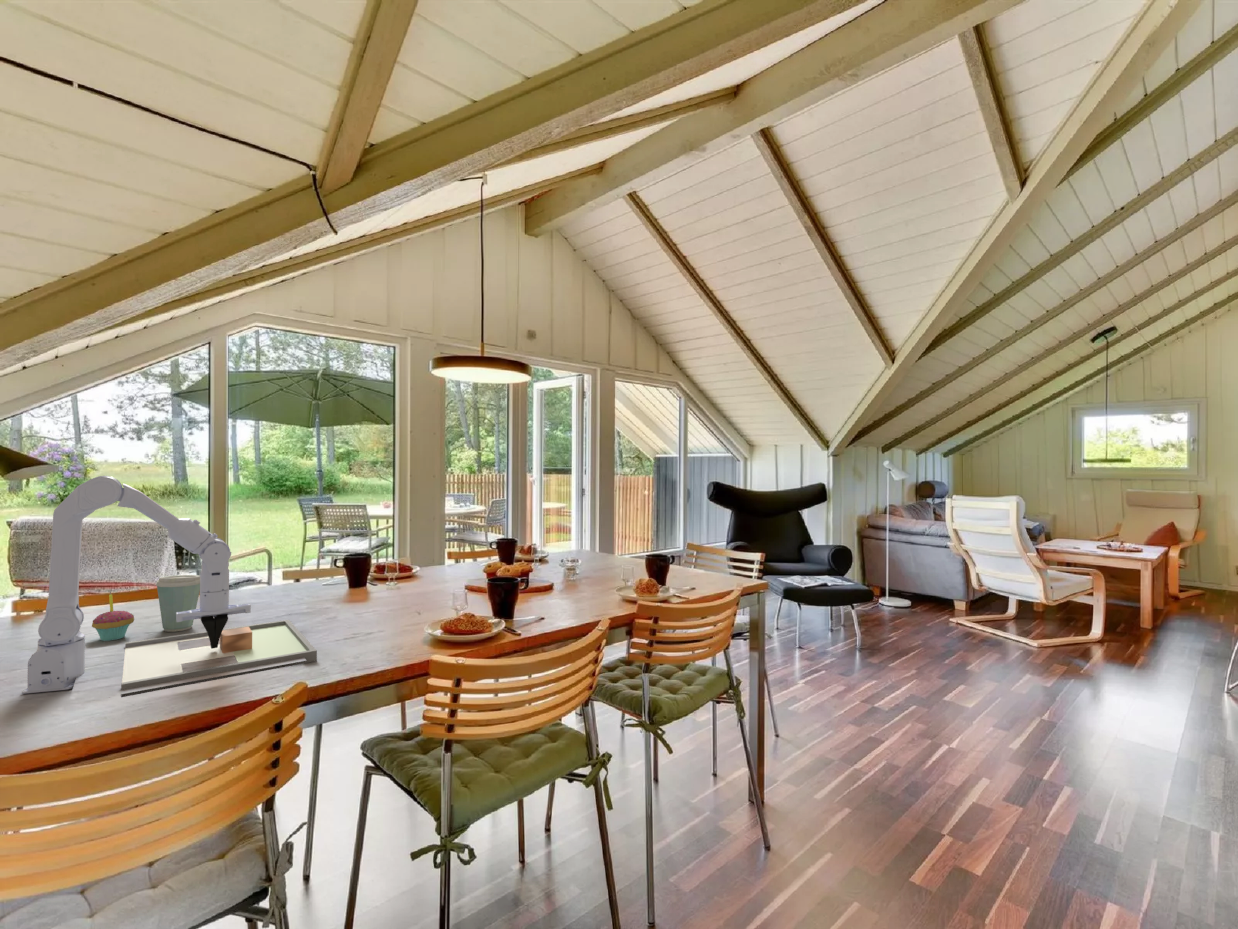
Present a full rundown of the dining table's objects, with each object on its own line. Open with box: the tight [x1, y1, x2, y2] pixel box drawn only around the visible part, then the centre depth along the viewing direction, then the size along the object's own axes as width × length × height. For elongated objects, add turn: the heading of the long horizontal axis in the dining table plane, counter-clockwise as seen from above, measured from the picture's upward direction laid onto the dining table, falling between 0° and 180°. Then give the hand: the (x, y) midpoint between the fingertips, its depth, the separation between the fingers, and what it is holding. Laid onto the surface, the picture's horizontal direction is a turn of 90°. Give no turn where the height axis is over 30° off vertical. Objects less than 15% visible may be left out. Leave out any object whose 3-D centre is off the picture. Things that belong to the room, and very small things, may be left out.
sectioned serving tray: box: [120, 619, 318, 698], centre depth 141 cm, size 35×34×2 cm
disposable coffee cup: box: [155, 574, 200, 633], centre depth 164 cm, size 11×11×15 cm
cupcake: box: [91, 591, 135, 642], centre depth 155 cm, size 9×8×12 cm
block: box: [219, 627, 252, 653], centre depth 143 cm, size 6×6×4 cm
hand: (214, 647), depth 140 cm, fingers closed
